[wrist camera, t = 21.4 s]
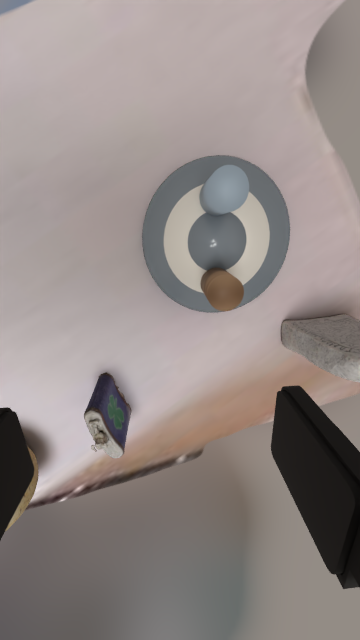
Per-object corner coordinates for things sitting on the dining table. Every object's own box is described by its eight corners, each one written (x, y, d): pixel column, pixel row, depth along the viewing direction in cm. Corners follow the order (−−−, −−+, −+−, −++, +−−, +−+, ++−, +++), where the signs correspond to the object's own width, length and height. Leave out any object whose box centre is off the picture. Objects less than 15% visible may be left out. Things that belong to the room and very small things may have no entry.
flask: (134, 412, 43) (124, 467, 33) (118, 418, 43) (104, 474, 33) (110, 370, 40) (91, 417, 30) (93, 376, 40) (70, 425, 30)
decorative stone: (347, 305, 39) (452, 347, 25) (344, 339, 41) (439, 396, 27) (279, 315, 39) (346, 364, 25) (279, 349, 41) (341, 412, 27)
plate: (149, 314, 37) (148, 316, 36) (135, 160, 30) (134, 157, 29) (279, 306, 38) (282, 308, 37) (294, 155, 31) (298, 152, 30)
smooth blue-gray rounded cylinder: (199, 178, 30) (207, 165, 25) (234, 176, 31) (250, 163, 25) (199, 216, 32) (207, 212, 26) (233, 215, 32) (248, 211, 26)
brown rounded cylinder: (200, 268, 34) (207, 276, 29) (231, 266, 34) (245, 274, 29) (200, 298, 36) (207, 312, 30) (230, 297, 36) (242, 310, 30)
